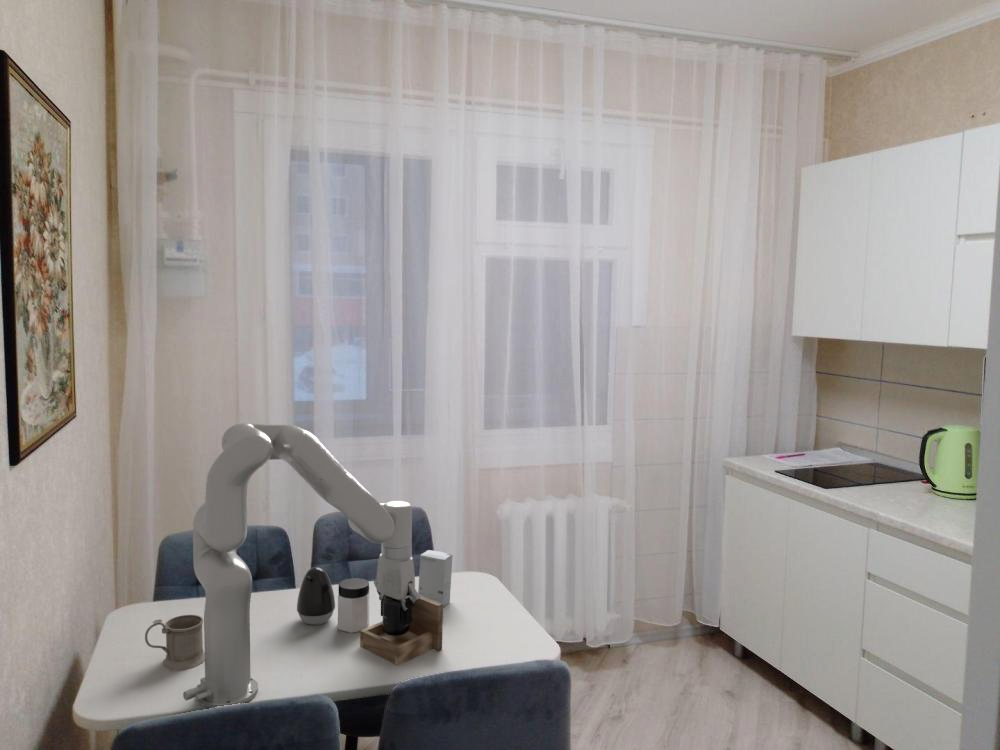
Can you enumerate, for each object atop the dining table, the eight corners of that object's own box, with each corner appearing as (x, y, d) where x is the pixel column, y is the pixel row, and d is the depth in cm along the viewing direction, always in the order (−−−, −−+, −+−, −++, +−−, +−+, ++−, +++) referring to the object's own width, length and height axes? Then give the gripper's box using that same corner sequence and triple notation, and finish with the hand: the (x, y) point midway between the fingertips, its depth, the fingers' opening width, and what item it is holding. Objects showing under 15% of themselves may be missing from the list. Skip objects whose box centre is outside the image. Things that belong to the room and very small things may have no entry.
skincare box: (417, 604, 218) (418, 555, 216) (426, 596, 223) (427, 548, 222) (443, 609, 215) (444, 559, 213) (452, 601, 220) (452, 552, 219)
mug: (193, 646, 188) (192, 601, 187) (214, 659, 182) (213, 612, 181) (136, 667, 177) (134, 619, 176) (155, 681, 171) (154, 631, 170)
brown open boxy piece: (403, 668, 180) (403, 620, 179) (355, 644, 191) (355, 599, 190) (442, 649, 190) (442, 604, 189) (394, 628, 202) (394, 585, 200)
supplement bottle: (376, 632, 188) (377, 586, 187) (393, 622, 194) (393, 578, 193) (399, 639, 185) (399, 592, 184) (414, 628, 191) (415, 583, 190)
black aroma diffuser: (289, 626, 201) (289, 572, 199) (308, 611, 211) (308, 559, 210) (324, 631, 199) (324, 576, 197) (341, 615, 209) (341, 563, 207)
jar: (343, 635, 196) (343, 591, 195) (332, 624, 203) (332, 581, 202) (375, 628, 201) (375, 585, 200) (363, 617, 208) (363, 575, 207)
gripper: (362, 546, 190) (362, 613, 192) (409, 563, 179) (408, 634, 181) (384, 539, 196) (384, 605, 198) (431, 555, 185) (430, 624, 187)
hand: (396, 618), depth 189 cm, fingers closed on supplement bottle, 6 cm apart
